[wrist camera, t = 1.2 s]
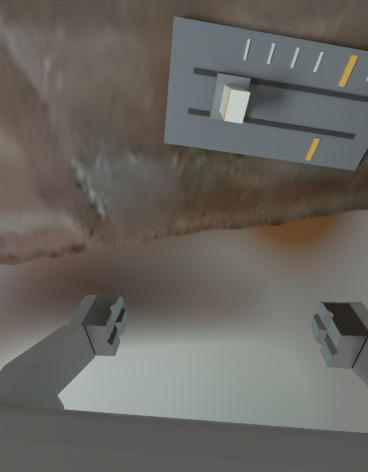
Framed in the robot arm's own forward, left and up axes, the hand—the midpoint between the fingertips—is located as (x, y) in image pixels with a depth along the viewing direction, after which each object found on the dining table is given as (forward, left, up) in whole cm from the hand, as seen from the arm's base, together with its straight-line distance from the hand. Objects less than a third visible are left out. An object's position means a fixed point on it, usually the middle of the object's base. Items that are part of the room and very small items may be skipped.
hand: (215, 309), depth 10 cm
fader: (-5, +3, -30) cm, 30 cm away
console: (-5, +10, -32) cm, 34 cm away
